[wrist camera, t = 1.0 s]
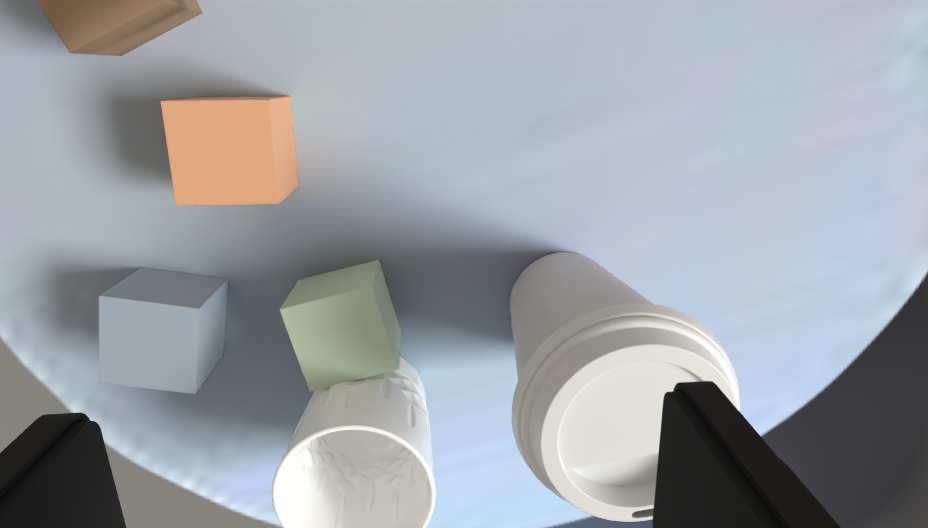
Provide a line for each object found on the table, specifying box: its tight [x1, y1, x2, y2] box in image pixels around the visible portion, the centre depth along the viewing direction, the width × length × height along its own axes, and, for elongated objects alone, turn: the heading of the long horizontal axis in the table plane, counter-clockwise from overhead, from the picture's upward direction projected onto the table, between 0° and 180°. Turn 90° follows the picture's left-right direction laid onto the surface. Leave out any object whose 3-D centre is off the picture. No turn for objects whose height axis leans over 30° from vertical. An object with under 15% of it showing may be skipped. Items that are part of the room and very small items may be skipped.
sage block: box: [280, 259, 402, 392], centre depth 35 cm, size 5×5×5 cm
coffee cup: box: [510, 252, 740, 522], centre depth 31 cm, size 10×10×15 cm
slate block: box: [99, 267, 228, 394], centre depth 35 cm, size 5×5×5 cm
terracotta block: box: [161, 96, 299, 206], centre depth 32 cm, size 5×5×5 cm
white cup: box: [272, 355, 435, 528], centre depth 35 cm, size 8×8×10 cm
